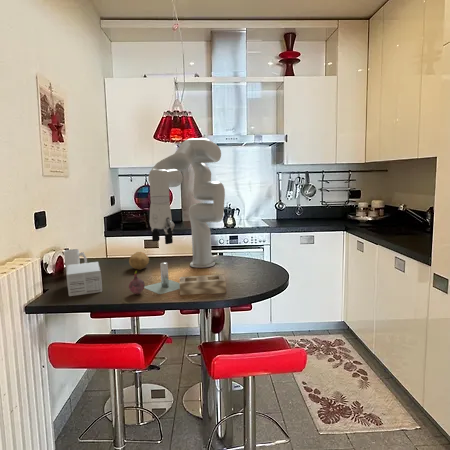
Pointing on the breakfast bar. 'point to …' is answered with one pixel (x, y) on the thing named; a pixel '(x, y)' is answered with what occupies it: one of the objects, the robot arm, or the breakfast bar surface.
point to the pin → (164, 275)
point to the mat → (159, 290)
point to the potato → (139, 260)
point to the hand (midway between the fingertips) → (162, 242)
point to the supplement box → (84, 278)
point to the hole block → (202, 284)
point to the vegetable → (136, 285)
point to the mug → (73, 257)
